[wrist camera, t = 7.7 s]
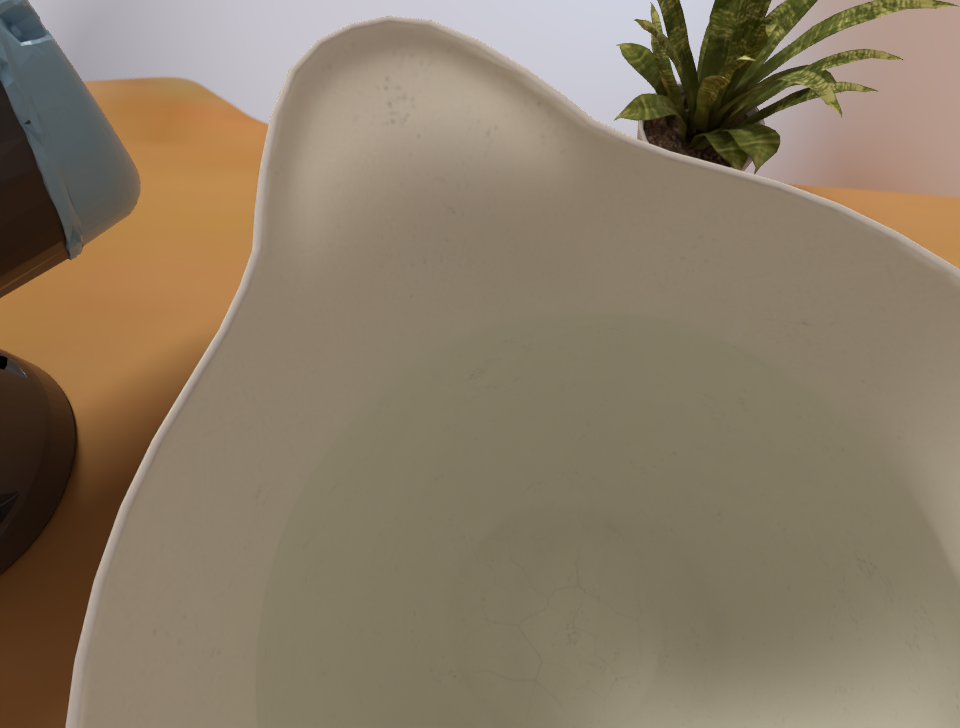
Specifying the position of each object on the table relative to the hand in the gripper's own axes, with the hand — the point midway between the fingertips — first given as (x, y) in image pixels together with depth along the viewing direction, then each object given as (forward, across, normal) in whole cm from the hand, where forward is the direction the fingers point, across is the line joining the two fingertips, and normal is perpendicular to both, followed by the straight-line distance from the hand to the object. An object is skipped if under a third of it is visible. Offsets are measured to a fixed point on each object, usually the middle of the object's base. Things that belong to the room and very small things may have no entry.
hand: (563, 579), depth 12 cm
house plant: (+27, +17, +1) cm, 32 cm away
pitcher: (+3, 0, -6) cm, 6 cm away
